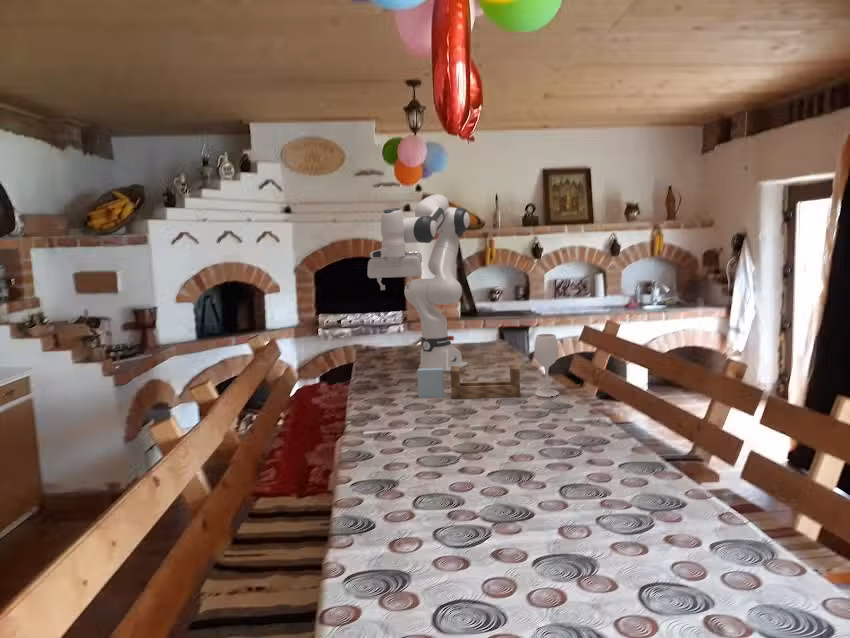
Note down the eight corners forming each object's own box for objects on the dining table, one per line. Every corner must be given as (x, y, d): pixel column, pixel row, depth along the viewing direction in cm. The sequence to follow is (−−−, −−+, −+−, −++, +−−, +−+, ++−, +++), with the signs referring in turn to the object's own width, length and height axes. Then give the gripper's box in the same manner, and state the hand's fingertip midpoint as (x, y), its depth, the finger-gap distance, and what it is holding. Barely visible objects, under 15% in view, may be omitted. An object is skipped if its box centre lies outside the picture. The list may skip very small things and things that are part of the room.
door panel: (444, 394, 237) (442, 367, 235) (443, 397, 233) (442, 369, 232) (419, 395, 237) (418, 368, 236) (418, 398, 234) (417, 370, 233)
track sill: (518, 391, 236) (518, 364, 235) (520, 397, 228) (519, 368, 227) (452, 393, 238) (451, 366, 237) (451, 398, 230) (450, 371, 229)
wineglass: (558, 390, 234) (557, 332, 232) (561, 396, 226) (559, 336, 223) (533, 391, 235) (532, 333, 233) (535, 397, 227) (534, 337, 224)
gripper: (422, 251, 246) (423, 287, 247) (368, 253, 247) (370, 289, 249) (421, 251, 240) (422, 289, 241) (365, 253, 241) (367, 291, 242)
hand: (395, 289), depth 245 cm, fingers open, 8 cm apart
